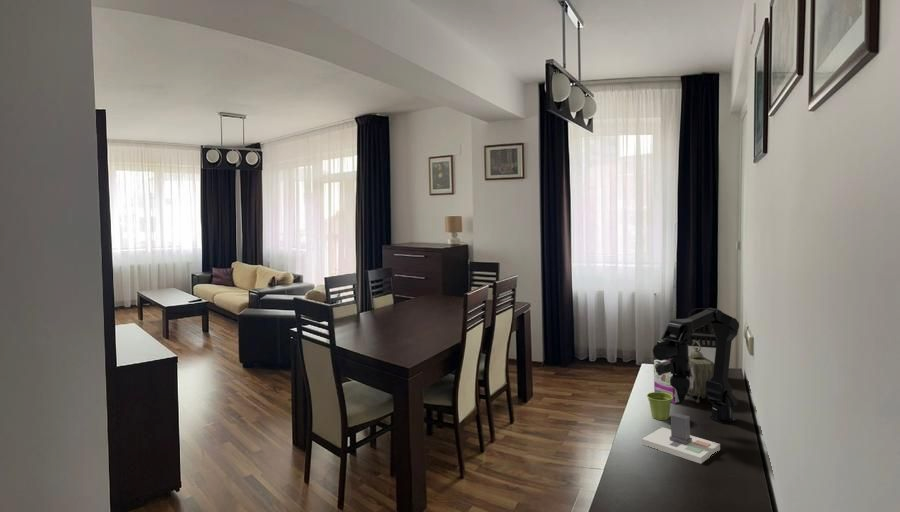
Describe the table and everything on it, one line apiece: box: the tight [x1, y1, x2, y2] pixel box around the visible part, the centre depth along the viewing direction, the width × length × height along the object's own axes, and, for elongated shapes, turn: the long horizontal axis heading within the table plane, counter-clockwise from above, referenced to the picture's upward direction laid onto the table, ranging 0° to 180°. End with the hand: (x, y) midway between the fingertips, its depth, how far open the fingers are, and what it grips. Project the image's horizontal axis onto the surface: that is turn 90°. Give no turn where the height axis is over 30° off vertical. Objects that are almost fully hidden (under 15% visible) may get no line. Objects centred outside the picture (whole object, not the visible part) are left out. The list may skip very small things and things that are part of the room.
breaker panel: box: [641, 426, 721, 465], centre depth 169 cm, size 14×20×2 cm
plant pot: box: [646, 391, 673, 421], centre depth 194 cm, size 9×9×9 cm
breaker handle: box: [670, 412, 692, 445], centre depth 169 cm, size 4×6×8 cm
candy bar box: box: [653, 359, 681, 404], centre depth 213 cm, size 11×5×16 cm, turn 23°
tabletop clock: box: [686, 341, 714, 404], centre depth 212 cm, size 14×9×25 cm, turn 178°
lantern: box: [688, 307, 717, 363], centre depth 236 cm, size 17×17×35 cm
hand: (681, 397), depth 180 cm, fingers open, 9 cm apart
